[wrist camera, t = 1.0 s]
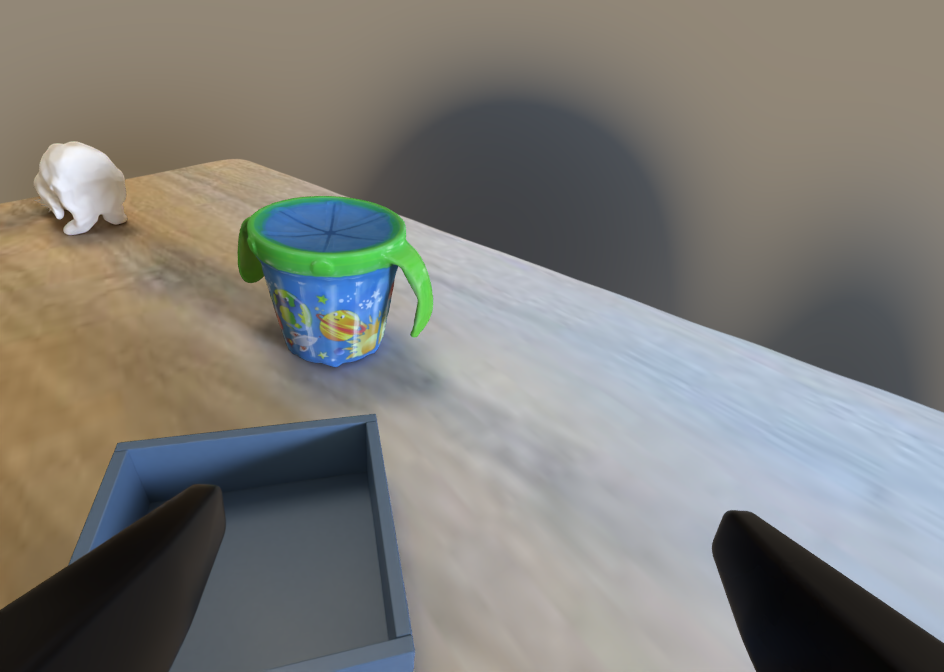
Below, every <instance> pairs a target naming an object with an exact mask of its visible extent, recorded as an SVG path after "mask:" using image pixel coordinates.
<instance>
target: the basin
mask: <svg viewBox="0 0 944 672" xmlns="http://www.w3.org/2000/svg"><path fill="white" fill-rule="evenodd" d="M195 484H207V485H217V486H219V487H220V488H221V491H222V495H223V502H224V509H225V516H226V530H225V534H224V537H223V540H222V543H221V545H220V548H219V551H218V554H217V556H216V559H215V562H214V565H213V567H212V570H211V573H210V576H209V578H208V581H207V584H206V587H205V589H204V592H203V595H202V598H201V600H200V603H199V606H198V609H197V611H196V614H195V616H194V619H193V621H192V624H191V626H190V629H189V631H188V633H187V635H186V637H185V640H184V642H183V644H182V646H181V648H180V650H179V652H178V654H177V656H176V658H175V660H174V662H173V665H172V667H171V669H170V671H169V672H413V669H414V656H415V648H414V642H413V636H412V630H411V624H410V618H409V612H408V606H407V600H406V594H405V588H404V582H403V576H402V570H401V564H400V558H399V552H398V545H397V539H396V533H395V527H394V521H393V515H392V509H391V503H390V497H389V491H388V485H387V479H386V473H385V467H384V461H383V455H382V448H381V442H380V436H379V430H378V424H377V418H376V414H369V415H360V416H351V417H342V418H333V419H325V420H316V421H307V422H298V423H289V424H280V425H271V426H262V427H254V428H245V429H236V430H227V431H218V432H209V433H200V434H192V435H183V436H174V437H165V438H156V439H147V440H138V441H130V442H121V443H117V446H116V448H115V451H114V453H113V455H112V458H111V460H110V463H109V465H108V468H107V470H106V473H105V475H104V478H103V480H102V483H101V485H100V488H99V490H98V493H97V495H96V498H95V500H94V503H93V505H92V507H91V510H90V512H89V515H88V517H87V520H86V522H85V525H84V527H83V530H82V532H81V535H80V537H79V540H78V542H77V545H76V547H75V550H74V552H73V555H72V557H71V560H70V562H69V565H70V564H72V563H73V562H75V561H76V560H78V559H79V558H81V557H82V556H84V555H85V554H87V553H89V552H90V551H92V550H93V549H95V548H96V547H98V546H99V545H101V544H102V543H104V542H105V541H107V540H108V539H110V538H112V537H113V536H115V535H116V534H118V533H119V532H121V531H122V530H124V529H125V528H127V527H128V526H130V525H132V524H133V523H135V522H136V521H138V520H139V519H141V518H142V517H144V516H145V515H147V514H148V513H150V512H151V511H153V510H155V509H156V508H158V507H159V506H161V505H162V504H164V503H165V502H167V501H168V500H170V499H171V498H173V497H175V496H176V495H178V494H179V493H181V492H182V491H184V490H185V489H187V488H188V487H190V486H192V485H195ZM69 565H68V566H69Z"/></svg>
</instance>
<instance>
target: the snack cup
mask: <svg viewBox="0 0 944 672" xmlns="http://www.w3.org/2000/svg"><path fill="white" fill-rule="evenodd" d="M398 266H399V267H400V268H401V269H402V271H403V273H404V275H405V277H406V278H407V280H408V282H409V284H410V285H411V288H412V289H413V291H414V293H415V295H416V297H417V299H418V304H417V309H416V314H415V319H414V326H413V330H412V332H411V334H410V335H411V336H412V337H417V336H418V335H419V334H420V332H421V331H422V330H423V329H424V327H425V326H426V324H427V323H428V321H429V319H430V316H431V313H432V310H433V295H432V287H431V282H430V278H429V275H428V272H427V269H426V266H425V264H424V262H423V261H422V259H421V257H420V255H419V254H418V253H417V251H416V250H415V249H414V248H413V247H412V246H411V245H410V244H409V243H408V242H407V240H406V226H405V223H404V221H403V219H402V218H400V216H398V215H397V214H396V213H394V212H393V211H391V210H390V209H388V208H386V207H383V206H381V205H378V204H375V203H372V202H368V201H364V200H360V199H354V198H347V197H335V196H313V197H311V196H310V197H299V198H292V199H288V200H283V201H279V202H275V203H272V204H270V205H268V206H265V207H263V208H261V209H259V210H258V211H257V212H255V213H254V214H253V215H252V216H251V217H248V218H247V219H246V220H244V221H243V223H242V225H241V229H240V233H239V240H238V268H239V273H240V275H241V277H242V279H243V280H244V281H245V282H248V283H254V282H257V281H259V280H260V279H262V278H263V277H264V276H265V280H266V283H267V286H268V288H269V292H270V296H271V299H272V302H273V305H274V309H275V312H276V315H277V318H278V322H279V325H280V327H281V329H282V332H283V336H284V339H285V341H286V344H287V346H288V349H289V350H290V351H291V352H292V353H293V354H297V355H298V356H299V357H300V358H302V359H304V360H306V361H310V362H314V363H323V364H326V365H329V366H332V367H338V366H339V365H341V364H343V363H346V362H352V361H357V360H359V359H362V358H364V357H366V356H367V355H369V354H373V353H375V351H376V350H377V349H378V347H379V346H380V343H381V340H382V338H383V335H384V332H385V326H386V321H387V315H388V312H389V307H390V302H391V297H392V291H393V287H394V279H395V275H396V271H397V268H398Z"/></svg>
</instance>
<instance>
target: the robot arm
mask: <svg viewBox="0 0 944 672" xmlns="http://www.w3.org/2000/svg"><path fill="white" fill-rule="evenodd" d="M225 530H226V516H225V509H224V502H223V495H222V491H221V488H220V487H219V486H217V485H207V484H195V485H192V486H190V487H188V488H187V489H185V490H184V491H182V492H181V493H179V494H178V495H176V496H175V497H173V498H171V499H170V500H168V501H167V502H165V503H164V504H162V505H161V506H159V507H158V508H156V509H155V510H153V511H151V512H150V513H148V514H147V515H145V516H144V517H142V518H141V519H139V520H138V521H136V522H135V523H133V524H132V525H130V526H128V527H127V528H125V529H124V530H122V531H121V532H119V533H118V534H116V535H115V536H113V537H112V538H110V539H108V540H107V541H105V542H104V543H102V544H101V545H99V546H98V547H96V548H95V549H93V550H92V551H90V552H89V553H87V554H85V555H84V556H82V557H81V558H79V559H78V560H76V561H75V562H73V563H72V564H70V565H69V566H67V567H66V568H64V569H62V570H61V571H59V572H58V573H56V574H55V575H53V576H52V577H50V578H49V579H47V580H46V581H44V582H42V583H41V584H39V585H38V586H36V587H35V588H33V589H32V590H30V591H29V592H27V593H26V594H24V595H23V596H21V597H19V598H18V599H16V600H15V601H13V602H12V603H10V604H9V605H7V606H6V607H4V608H3V609H1V610H0V672H169V671H170V669H171V667H172V665H173V662H174V660H175V658H176V656H177V654H178V652H179V650H180V648H181V646H182V644H183V642H184V640H185V637H186V635H187V633H188V631H189V629H190V626H191V624H192V621H193V619H194V616H195V614H196V611H197V609H198V606H199V603H200V600H201V598H202V595H203V592H204V589H205V587H206V584H207V581H208V578H209V576H210V573H211V570H212V567H213V565H214V562H215V559H216V556H217V554H218V551H219V548H220V545H221V543H222V540H223V537H224V534H225ZM712 553H713V557H714V560H715V563H716V566H717V569H718V572H719V575H720V578H721V581H722V584H723V586H724V589H725V592H726V595H727V598H728V601H729V604H730V607H731V610H732V613H733V615H734V618H735V621H736V624H737V627H738V630H739V632H740V635H741V638H742V640H743V643H744V645H745V647H746V650H747V652H748V654H749V657H750V659H751V661H752V663H753V666H754V668H755V670H756V672H944V643H943V642H941V641H940V640H938V639H937V638H935V637H934V636H932V635H931V634H929V633H928V632H927V631H925V630H924V629H922V628H921V627H919V626H918V625H916V624H915V623H913V622H912V621H910V620H909V619H907V618H906V617H905V616H903V615H902V614H900V613H899V612H897V611H896V610H894V609H893V608H891V607H890V606H888V605H887V604H886V603H884V602H883V601H881V600H880V599H878V598H877V597H875V596H874V595H872V594H871V593H869V592H868V591H866V590H865V589H864V588H862V587H861V586H859V585H858V584H856V583H855V582H853V581H852V580H850V579H849V578H847V577H846V576H844V575H843V574H842V573H840V572H839V571H837V570H836V569H834V568H833V567H831V566H830V565H828V564H827V563H825V562H824V561H823V560H821V559H820V558H818V557H817V556H815V555H814V554H812V553H811V552H809V551H808V550H806V549H805V548H803V547H802V546H801V545H799V544H798V543H796V542H795V541H793V540H792V539H790V538H789V537H787V536H786V535H784V534H783V533H781V532H780V531H779V530H777V529H776V528H774V527H773V526H771V525H770V524H768V523H767V522H765V521H764V520H762V519H761V518H760V517H758V516H757V515H755V514H754V513H752V512H749V511H736V510H730V511H727V512H726V513H725V514H724V515H723V518H722V520H721V522H720V525H719V527H718V530H717V532H716V535H715V537H714V540H713V543H712Z"/></svg>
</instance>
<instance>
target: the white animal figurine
mask: <svg viewBox="0 0 944 672" xmlns="http://www.w3.org/2000/svg"><path fill="white" fill-rule="evenodd" d="M39 169H40V170H39V173H38V174H37V176H36V177H35V179H34V187H35V189H36V191H37V193H38V194H39V195H40V198H41V199H38V200H41V201H38V200H35V201H38V203H41V204H45V205H41V206H47V207H48V208H50V210H49V212H50V211H52V212H53V213H54V214H55V216H56V218H57V219H62V218H63V217H64V210H68V211H69V212H71V214H72V215H73V218H74V219H73V220H71V221H70V222H68V223H67V224H66V225H65V227H64V228H63V232H64V233H65V234H68V235H76V234H80V233H85V232H87V231H88V230H89V229H90V228H91V227H92V226H93V225H94V224H95V223H96V222H97V221H98V217H99V215H100V214H102V215H103V218H104V220H106V221H108V222H109V223H112V224H116V225H118V224H121V223H124V222H126V221H127V215H126V214H124V207H123V205H122V204H123V203H124V201H125V199H126V188H125V179H124V175H123V173H122V172H121V171H120V170H119V169H118V168H116V167H115V165H114V164H113V163H112V162H111V160H110V159H109V158H108V157H107V155H105V154H104V153H102V152H101V151H99V150H97V149H95V148H93V147H91V146H88V145H85V144H83V143H80V142H74V141H72V142H68V143H65V144H60V143H56V144H52V145H50V146H49V148H48V149H47V151H46V152H45V153H44V154H43V156H42V159H41V161H40V163H39ZM42 201H43V202H42ZM46 209H47V208H46ZM49 212H48V213H49Z"/></svg>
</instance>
